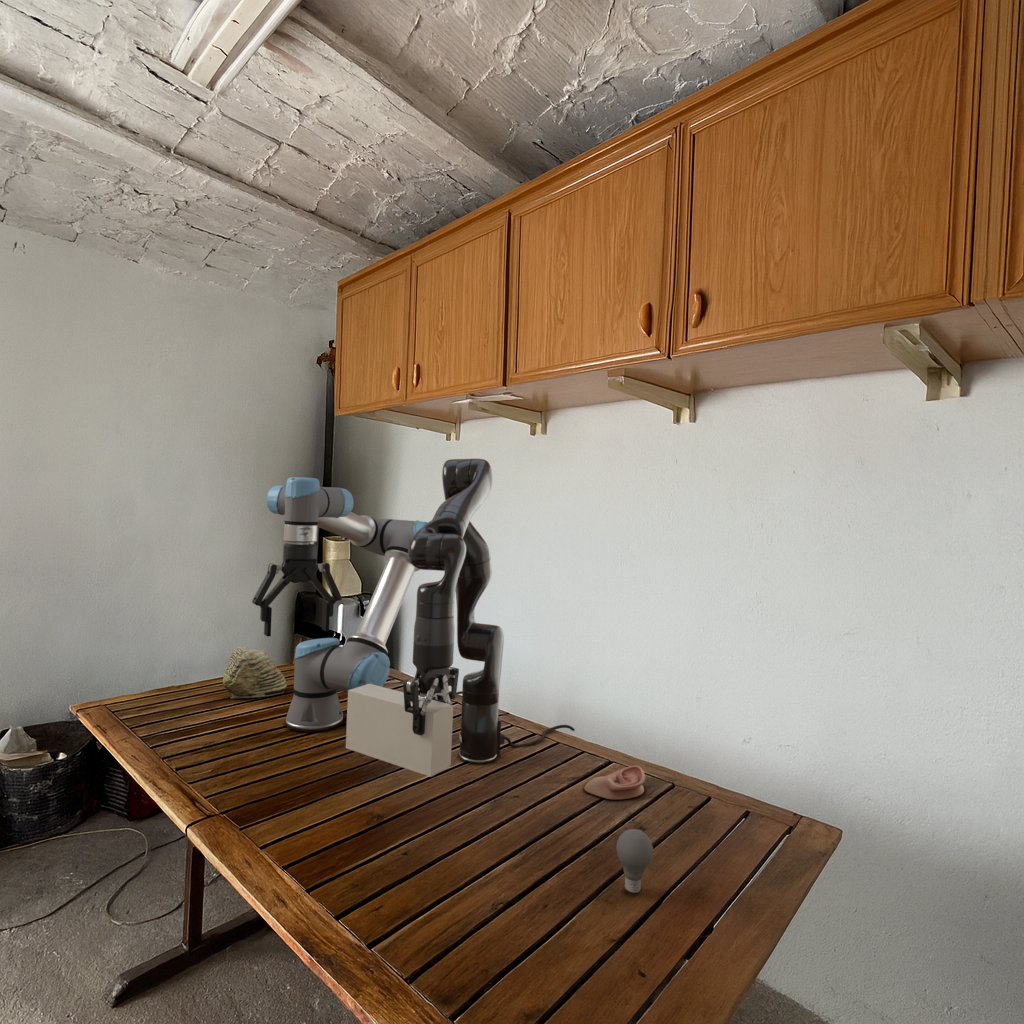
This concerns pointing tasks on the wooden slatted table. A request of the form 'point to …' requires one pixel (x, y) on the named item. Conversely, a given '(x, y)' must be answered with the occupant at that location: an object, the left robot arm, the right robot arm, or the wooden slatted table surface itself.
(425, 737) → the box
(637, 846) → the light bulb
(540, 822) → the wooden slatted table surface
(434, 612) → the right robot arm
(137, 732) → the wooden slatted table surface
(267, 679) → the fossil
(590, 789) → the anatomical model
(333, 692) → the left robot arm
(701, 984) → the wooden slatted table surface
